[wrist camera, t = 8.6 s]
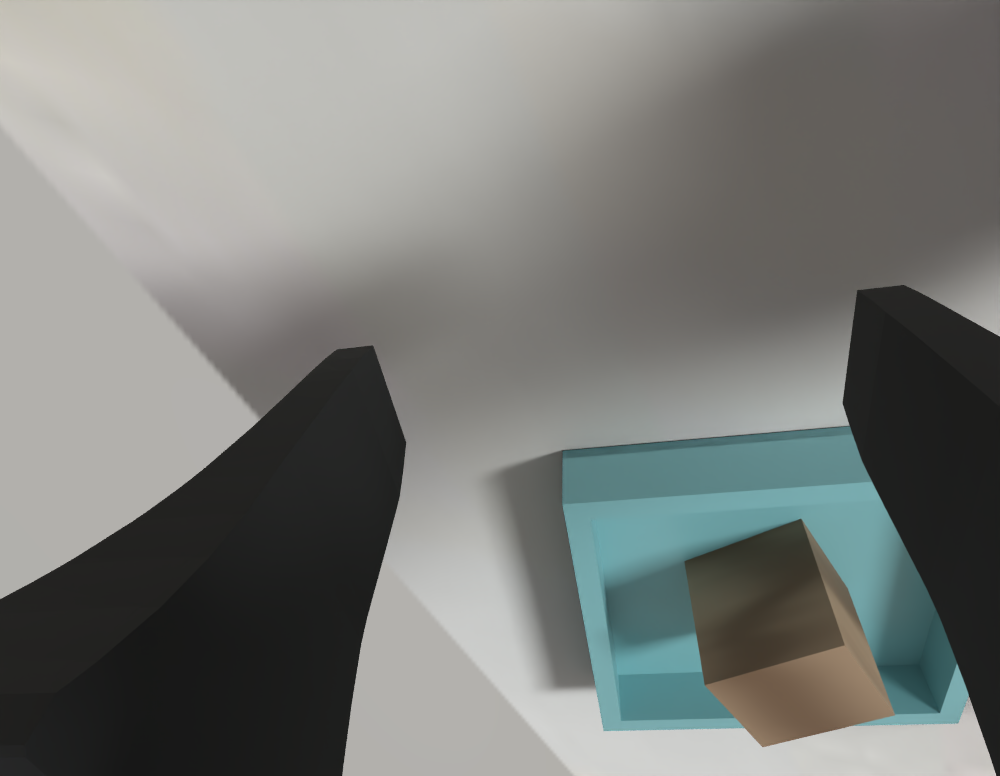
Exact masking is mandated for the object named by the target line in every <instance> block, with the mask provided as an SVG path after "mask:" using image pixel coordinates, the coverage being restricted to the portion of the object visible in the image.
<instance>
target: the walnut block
mask: <svg viewBox="0 0 1000 776" xmlns="http://www.w3.org/2000/svg"><path fill="white" fill-rule="evenodd" d="M684 562H685V569H686V575H687V581H688V587H689V593H690V599H691V605H692V611H693V617H694V624H695V630H696V636H697V642H698V648H699V654H700V660H701V666H702V672H703V679H704V685H705V686H706V687H707V688H708V689H709V691H710V692H711V693H712V694H713V695H714V696H715V697H716V698H717V699H718V700H719V701H720V702H721V703H722V704H723V705H724V706H725V708H726V709H727V710H728V711H729V712H730V713H731V714H732V715H733V716H734V717H735V718H736V719H737V720H738V721H739V722H740V723H741V725H742V726H743V727H744V728H745V729H746V730H747V731H748V732H749V733H750V734H751V735H752V736H753V737H754V738H755V739H756V741H757V742H758V743H759V744H760V745H761V746H762V747H765V746H770V745H774V744H778V743H782V742H786V741H790V740H795V739H799V738H803V737H807V736H811V735H815V734H820V733H824V732H828V731H832V730H836V729H840V728H845V727H849V726H853V725H857V724H861V723H865V722H870V721H874V720H878V719H882V718H886V717H890V716H895V714H894V711H893V708H892V706H891V703H890V700H889V698H888V695H887V692H886V690H885V687H884V684H883V682H882V679H881V676H880V674H879V671H878V668H877V665H876V663H875V660H874V657H873V655H872V652H871V649H870V647H869V644H868V641H867V639H866V636H865V633H864V631H863V628H862V625H861V623H860V620H859V617H858V615H857V612H856V609H855V607H854V604H853V601H852V599H851V596H850V593H849V591H848V588H847V587H846V585H845V584H844V582H843V581H842V579H841V578H840V576H839V574H838V573H837V571H836V570H835V568H834V567H833V565H832V564H831V562H830V561H829V559H828V558H827V556H826V555H825V553H824V552H823V550H822V549H821V547H820V546H819V544H818V543H817V541H816V540H815V538H814V537H813V535H812V534H811V532H810V531H809V529H808V528H807V526H806V525H805V523H804V522H803V520H802V519H799V520H796V521H794V522H791V523H788V524H785V525H783V526H780V527H777V528H774V529H772V530H769V531H766V532H763V533H761V534H758V535H755V536H752V537H750V538H747V539H744V540H741V541H739V542H736V543H733V544H730V545H728V546H725V547H722V548H719V549H717V550H714V551H711V552H708V553H706V554H703V555H700V556H697V557H695V558H692V559H689V560H686V561H684Z"/></svg>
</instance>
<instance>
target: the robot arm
mask: <svg viewBox="0 0 1000 776" xmlns="http://www.w3.org/2000/svg"><path fill="white" fill-rule="evenodd" d="M843 406H844V409H845V412H846V415H847V418H848V422H849V425H850V428H851V431H852V434H853V437H854V440H855V443H856V446H857V449H858V451H859V454H860V457H861V460H862V462H863V464H864V466H865V468H866V471H867V473H868V475H869V477H870V479H871V481H872V483H873V485H874V487H875V489H876V491H877V493H878V495H879V497H880V499H881V501H882V503H883V505H884V507H885V509H886V510H887V512H888V514H889V516H890V518H891V520H892V522H893V524H894V526H895V528H896V530H897V532H898V534H899V536H900V538H901V540H902V542H903V544H904V546H905V548H906V550H907V551H908V553H909V555H910V557H911V559H912V561H913V563H914V565H915V567H916V569H917V571H918V573H919V575H920V577H921V579H922V581H923V583H924V585H925V587H926V589H927V591H928V593H929V595H930V597H931V600H932V602H933V604H934V606H935V608H936V611H937V613H938V615H939V617H940V620H941V622H942V625H943V627H944V630H945V633H946V635H947V638H948V641H949V643H950V646H951V649H952V651H953V654H954V657H955V659H956V662H957V665H958V667H959V670H960V672H961V675H962V678H963V680H964V683H965V686H966V689H967V692H968V694H969V697H970V700H971V703H972V706H973V709H974V711H975V714H976V717H977V720H978V723H979V726H980V729H981V731H982V734H983V737H984V740H985V743H986V746H987V749H988V751H989V754H990V757H991V760H992V763H993V766H994V770H995V773H996V776H1000V337H999V336H998V335H996V334H994V333H992V332H990V331H989V330H987V329H985V328H983V327H981V326H979V325H978V324H976V323H974V322H972V321H970V320H969V319H967V318H965V317H963V316H962V315H960V314H958V313H956V312H954V311H953V310H951V309H949V308H947V307H945V306H944V305H942V304H940V303H938V302H936V301H934V300H933V299H931V298H929V297H927V296H925V295H923V294H921V293H919V292H917V291H915V290H913V289H911V288H909V287H907V286H904V285H901V286H892V287H883V288H874V289H866V290H857V297H856V305H855V312H854V320H853V328H852V335H851V343H850V351H849V358H848V366H847V374H846V381H845V389H844V397H843ZM405 448H406V441H405V438H404V435H403V432H402V429H401V426H400V423H399V420H398V417H397V414H396V411H395V408H394V406H393V403H392V400H391V397H390V394H389V391H388V388H387V385H386V382H385V379H384V376H383V373H382V370H381V367H380V364H379V362H378V359H377V356H376V353H375V350H374V347H373V346H365V347H356V348H347V349H338V350H336V351H334V352H333V353H332V354H331V355H329V356H328V357H327V358H326V359H325V360H324V361H322V362H321V363H320V364H319V365H318V366H317V367H316V368H315V369H314V370H313V371H311V372H310V373H309V374H308V375H307V376H306V377H305V378H304V379H303V380H302V381H301V382H300V383H299V384H298V385H297V386H296V387H295V388H294V389H292V390H291V391H290V392H289V393H288V394H287V395H286V396H285V397H284V398H283V399H282V400H281V401H280V402H279V403H278V404H277V405H275V406H274V407H273V408H272V409H271V410H270V411H269V412H268V413H267V414H266V415H265V416H264V417H263V418H262V419H261V420H260V421H258V422H257V423H256V424H255V425H254V426H253V427H252V428H251V429H250V430H249V431H247V432H246V433H245V434H244V435H243V436H242V437H240V438H239V439H238V440H237V441H236V442H235V443H233V444H232V445H231V446H230V447H229V448H228V449H227V450H225V451H224V452H223V453H222V454H221V455H219V456H218V457H217V458H216V459H215V460H214V461H213V462H211V463H210V464H209V465H208V466H207V467H206V468H204V469H203V470H202V471H201V472H199V473H198V474H197V475H196V476H194V477H193V478H192V479H191V480H189V481H188V482H187V483H185V484H184V485H183V486H182V487H180V488H179V489H178V490H176V491H175V492H173V493H172V494H171V495H170V496H168V497H167V498H165V499H164V500H162V501H161V502H160V503H158V504H157V505H156V506H154V507H153V508H151V509H150V510H149V511H147V512H146V513H144V514H143V515H141V516H140V517H138V518H137V519H136V520H134V521H133V522H131V523H129V524H128V525H127V526H125V527H123V528H121V529H120V530H118V531H117V532H115V533H114V534H112V535H110V536H109V537H107V538H106V539H104V540H102V541H101V542H99V543H98V544H96V545H95V546H93V547H91V548H90V549H88V550H87V551H85V552H84V553H82V554H80V555H79V556H77V557H76V558H74V559H72V560H71V561H69V562H67V563H65V564H64V565H62V566H60V567H59V568H57V569H55V570H53V571H51V572H50V573H48V574H46V575H44V576H43V577H41V578H39V579H37V580H35V581H34V582H32V583H30V584H28V585H27V586H24V587H22V588H21V589H19V590H17V591H15V592H13V593H11V594H9V595H7V596H6V597H4V598H2V599H0V776H342V772H343V763H344V756H345V748H346V741H347V734H348V726H349V719H350V711H351V704H352V698H353V691H354V685H355V679H356V673H357V667H358V660H359V654H360V648H361V642H362V638H363V633H364V629H365V625H366V620H367V616H368V612H369V609H370V605H371V601H372V598H373V594H374V590H375V586H376V583H377V579H378V576H379V572H380V568H381V565H382V561H383V557H384V554H385V550H386V547H387V543H388V539H389V535H390V532H391V528H392V524H393V520H394V517H395V513H396V509H397V505H398V501H399V497H400V490H401V483H402V475H403V467H404V457H405Z"/></svg>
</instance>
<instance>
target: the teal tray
mask: <svg viewBox="0 0 1000 776" xmlns="http://www.w3.org/2000/svg"><path fill="white" fill-rule="evenodd" d="M562 505H563V511H564V516H565V522H566V527H567V533H568V538H569V543H570V549H571V554H572V560H573V565H574V571H575V576H576V582H577V587H578V593H579V598H580V604H581V609H582V615H583V620H584V625H585V631H586V636H587V642H588V647H589V653H590V658H591V664H592V669H593V675H594V680H595V686H596V691H597V697H598V702H599V708H600V713H601V718H602V724H603V729H604V731H628V730H674V729H721V728H744V727H743V726H742V725H741V723H740V722H739V721H738V720H737V719H736V718H735V717H734V716H733V715H732V714H731V713H730V712H729V711H728V710H727V709H726V708H725V706H724V705H723V704H722V703H721V702H720V701H719V700H718V699H717V698H716V697H715V696H714V695H713V694H712V693H711V692H710V691H709V689H708V688H707V687H706V686H705V685H704V679H703V672H702V666H701V660H700V654H699V648H698V642H697V636H696V630H695V624H694V617H693V611H692V605H691V599H690V593H689V587H688V581H687V575H686V569H685V562H684V561H686V560H689V559H692V558H695V557H697V556H700V555H703V554H706V553H708V552H711V551H714V550H717V549H719V548H722V547H725V546H728V545H730V544H733V543H736V542H739V541H741V540H744V539H747V538H750V537H752V536H755V535H758V534H761V533H763V532H766V531H769V530H772V529H774V528H777V527H780V526H783V525H785V524H788V523H791V522H794V521H796V520H799V519H802V520H803V522H804V523H805V525H806V526H807V528H808V529H809V531H810V532H811V534H812V535H813V537H814V538H815V540H816V541H817V543H818V544H819V546H820V547H821V549H822V550H823V552H824V553H825V555H826V556H827V558H828V559H829V561H830V562H831V564H832V565H833V567H834V568H835V570H836V571H837V573H838V574H839V576H840V578H841V579H842V581H843V582H844V584H845V585H846V587H847V588H848V591H849V593H850V596H851V599H852V601H853V604H854V607H855V609H856V612H857V615H858V617H859V620H860V623H861V625H862V628H863V631H864V633H865V636H866V639H867V641H868V644H869V647H870V649H871V652H872V655H873V657H874V660H875V663H876V665H877V668H878V671H879V674H880V676H881V679H882V682H883V684H884V687H885V690H886V692H887V695H888V698H889V700H890V703H891V706H892V708H893V711H894V714H895V716H890V717H886V718H882V719H878V720H874V721H870V722H865V723H861V724H857V725H853V726H862V725H908V724H955V723H958V722H959V720H960V717H961V714H962V712H963V709H964V707H965V704H966V701H967V699H968V696H969V694H968V692H967V689H966V686H965V683H964V680H963V678H962V675H961V672H960V670H959V667H958V665H957V662H956V659H955V657H954V654H953V651H952V649H951V646H950V643H949V641H948V638H947V635H946V633H945V630H944V627H943V625H942V622H941V620H940V617H939V615H938V613H937V611H936V608H935V606H934V604H933V602H932V600H931V597H930V595H929V593H928V591H927V589H926V587H925V585H924V583H923V581H922V579H921V577H920V575H919V573H918V571H917V569H916V567H915V565H914V563H913V561H912V559H911V557H910V555H909V553H908V551H907V550H906V548H905V546H904V544H903V542H902V540H901V538H900V536H899V534H898V532H897V530H896V528H895V526H894V524H893V522H892V520H891V518H890V516H889V514H888V512H887V510H886V509H885V507H884V505H883V503H882V501H881V499H880V497H879V495H878V493H877V491H876V489H875V487H874V485H873V483H872V481H871V479H870V477H869V475H868V473H867V471H866V468H865V466H864V464H863V462H862V460H861V457H860V454H859V451H858V449H857V446H856V443H855V440H854V437H853V434H852V431H851V428H850V426H848V427H836V428H825V429H813V430H801V431H789V432H777V433H766V434H754V435H742V436H730V437H719V438H707V439H695V440H683V441H672V442H660V443H648V444H636V445H625V446H613V447H601V448H589V449H578V450H566V451H563V465H562Z"/></svg>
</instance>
